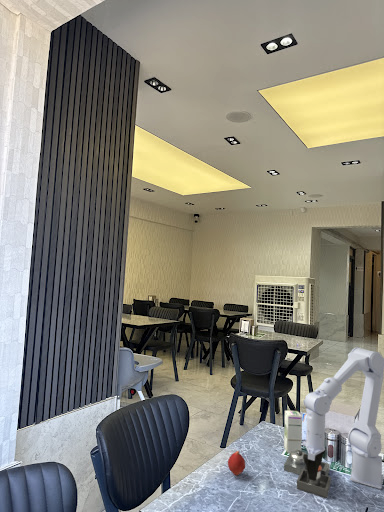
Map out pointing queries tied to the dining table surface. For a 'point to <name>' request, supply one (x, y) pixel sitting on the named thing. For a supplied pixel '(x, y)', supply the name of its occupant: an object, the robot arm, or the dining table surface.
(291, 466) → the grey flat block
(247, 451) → the dining table surface
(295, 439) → the syrup box
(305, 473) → the tray
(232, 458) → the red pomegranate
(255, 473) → the dining table surface
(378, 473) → the robot arm
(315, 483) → the pin
